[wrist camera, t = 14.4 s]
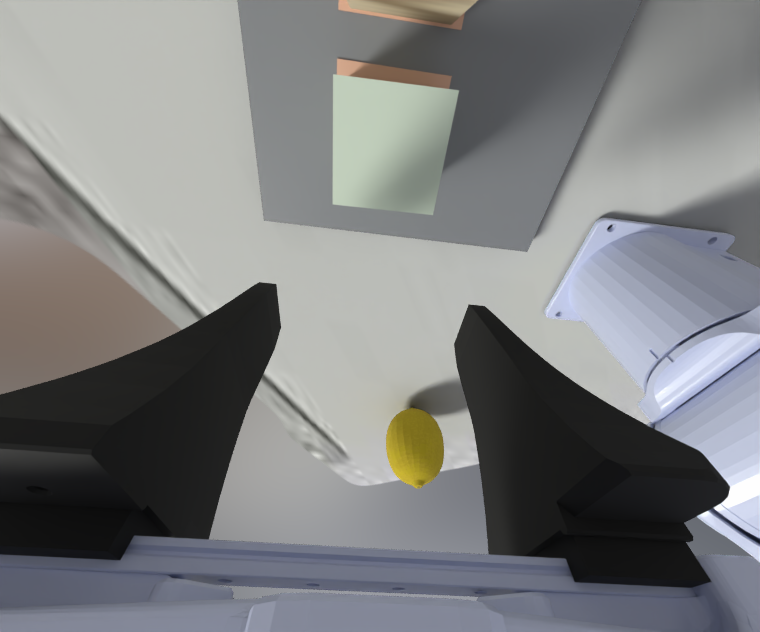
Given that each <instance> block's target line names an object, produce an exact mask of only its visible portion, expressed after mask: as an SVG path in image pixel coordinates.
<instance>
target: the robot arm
mask: <svg viewBox="0 0 760 632" xmlns="http://www.w3.org/2000/svg"><path fill="white" fill-rule="evenodd" d="M612 224H613V225H612ZM610 225H612V227H611V228H610V229H608V230H607V228H608V227H609V226H610ZM734 241H735V236H733V235H731V234H728V233H722V232H714V231H706V230H698V229H690V228H683V227H675V226H667V225H659V224H651V223H644V222H636V221H628V220H620V219H613V218H601V219H599V220H597V221H596V222H595V223H594V225H593V227H592V228H591V230H590V232H589V234H588V235H587V237H586V239H585V241H584V243H583V244H582V246H581V248H580V250H579V251H578V253H577V255H576V257H575V258H574V260H573V262H572V264H571V265H570V267H569V269H568V271H567V272H566V274H565V276H564V278H563V279H562V281H561V283H560V285H559V287H558V288H557V290H556V292H555V294H554V295H553V297H552V299H551V301H550V302H549V304H548V306H547V308H546V309H545V312H544V313H545V315H546V316H547V317H548V318H554V319H563V320H573V321H582V322H585V323H586V324H587V326H588V327H589V328H590V329H591V330H592V332H593V333H594V334H595V335H596V336H597V337H598V339H599V340H600V341H601V342H602V343H603V345H604V346H605V347H606V348H607V349H608V351H609V352H610V353H611V354H612V355H613V356H614V358H615V359H616V360H617V361H618V362H619V364H620V365H621V366H622V367H623V368H624V369H625V371H626V372H627V373H628V374H629V375H630V377H631V378H632V379H633V380H634V381H635V383H636V384H637V385H638V386H639V387H640V388H641V390H642V391H643V392H644V393H645V396H644V397H643V399H642V400H641V401H640V402H639V403H638V404H637V405H638V406H639V407H640V409H641V410H642V411H643V412H644V414H645V415H646V416H647V417H648V419H649V420H650V421H651V422H649V423H648V424H647V425H646V424H644V423H642V422H640V421H638V420H636V419H635V418H633V417H631V416H629V415H627V414H625V413H623V412H622V411H620V410H618V409H616V408H615V407H613V406H611V405H610V404H608V403H606V402H605V401H603V400H601V399H600V398H598V397H597V396H595V395H593V394H592V393H590V392H589V391H587V390H585V389H584V388H582V387H581V386H579V385H578V384H576V383H575V382H573V381H572V380H571V379H569V378H568V377H566V376H565V375H564V374H562V373H561V372H560V371H558V370H557V369H555V368H554V367H553V366H552V365H550V364H549V363H548V362H546V361H545V360H544V359H543V358H542V357H540V356H539V355H538V354H537V353H536V352H534V351H533V350H532V349H531V348H530V347H529V346H527V345H526V344H525V343H524V342H523V341H522V340H521V339H520V338H519V337H517V336H516V335H515V334H514V333H513V332H512V331H511V330H510V329H509V328H508V327H507V326H506V325H505V324H504V323H503V322H502V321H500V320H499V319H498V318H497V317H496V316H495V315H494V314H493V313H492V312H491V311H490V310H489V309H487V308H486V307H485V306H478V305H468V308H467V311H466V314H465V316H464V319H463V322H462V324H461V327H460V330H459V333H458V335H457V338H456V341H455V343H454V346H455V355H456V363H457V368H458V372H459V376H460V380H461V383H462V387H463V391H464V394H465V398H466V401H467V405H468V408H469V412H470V416H471V419H472V424H473V428H474V433H475V439H476V445H477V451H478V458H479V465H480V472H481V479H482V488H483V496H484V505H485V514H486V526H487V538H488V551H489V554H470V553H451V552H433V551H414V550H395V549H377V548H356V547H338V546H320V545H302V544H301V545H300V544H282V543H263V542H245V541H227V540H209V536H210V532H211V528H212V524H213V520H214V516H215V513H216V509H217V505H218V502H219V497H220V494H221V491H222V487H223V484H224V480H225V477H226V473H227V470H228V467H229V463H230V460H231V457H232V454H233V450H234V447H235V444H236V441H237V438H238V435H239V432H240V429H241V426H242V423H243V420H244V417H245V414H246V411H247V409H248V406H249V404H250V401H251V399H252V397H253V395H254V393H255V391H256V388H257V386H258V384H259V382H260V380H261V378H262V375H263V373H264V371H265V369H266V367H267V365H268V362H269V360H270V358H271V356H272V354H273V351H274V349H275V346H276V342H277V339H278V336H279V332H280V329H281V323H280V314H279V305H278V296H277V287H276V284H270V283H261V282H259V283H257V284H256V285H254V286H252V287H251V288H249V289H248V290H246V291H245V292H243V293H242V294H240V295H239V296H237V297H236V298H234V299H233V300H231V301H230V302H228V303H227V304H225V305H224V306H222V307H221V308H219V309H218V310H216V311H214V312H213V313H211V314H209V315H207V316H206V317H204V318H202V319H201V320H199V321H197V322H196V323H194V324H192V325H190V326H189V327H187V328H185V329H183V330H181V331H179V332H177V333H175V334H173V335H171V336H169V337H167V338H165V339H163V340H161V341H159V342H156V343H154V344H152V345H149V346H147V347H145V348H142V349H140V350H137V351H135V352H132V353H130V354H127V355H125V356H123V357H120V358H118V359H115V360H113V361H109V362H107V363H104V364H101V365H98V366H95V367H93V368H89V369H86V370H83V371H81V372H77V373H74V374H71V375H68V376H65V377H62V378H58V379H55V380H51V381H48V382H44V383H41V384H37V385H34V386H30V387H27V388H23V389H20V390H16V391H13V392H9V393H5V394H1V395H0V632H760V565H759V563H758V562H757V560H758V561H759V562H760V268H759V267H756V266H754V265H752V264H750V263H748V262H746V261H744V260H742V259H740V258H738V257H736V256H734V255H732V254H730V253H728V252H726V250H727V249H728V248H729V247H730V246H731V245H732V244H733V242H734ZM557 312H559V313H557ZM556 313H557V314H556ZM696 516H697V517H698V518H699V519H700V520H702V521H703V522H704V523H706V524H707V525H708V526H710V527H712V528H713V529H714V530H716V531H718V532H719V533H721V534H723V535H724V536H726V537H727V538H729V539H730V540H731V541H733V542H734V543H736V544H737V545H738V546H740V547H741V548H742V549H744V550H745V551H746V552H748V553H749V554H750V555H752V556H753V557H754V558H755V559H754V558H752V557H750V556H733V555H715V554H710V555H709V554H708V555H700V556H694V554H693V553H692V551H691V549H690V548H689V546H688V545H687V543H686V542H690V541H693V536H692V534H691V533H690V531H689V530H688V529H687V527H686V525H685V524H684V522H686V521H688V520H690V519H692V518H694V517H696ZM218 585H226V586H249V587H272V588H295V589H317V590H339V591H362V592H385V593H408V594H429V595H452V596H475V597H478V599H477V601H471V600H462V599H447V598H425V597H402V596H400V597H399V596H378V595H356V594H355V595H354V594H333V593H280V594H275V595H270V596H264V597H262V598H253V599H234V598H233V591H232V589H231V588H229V587H224V586H218Z"/></svg>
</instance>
